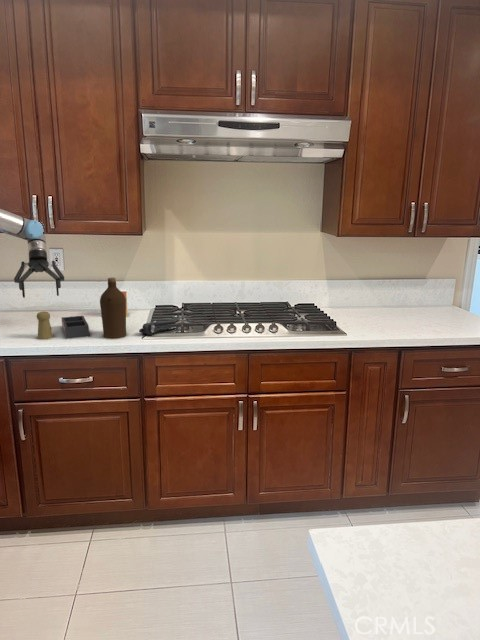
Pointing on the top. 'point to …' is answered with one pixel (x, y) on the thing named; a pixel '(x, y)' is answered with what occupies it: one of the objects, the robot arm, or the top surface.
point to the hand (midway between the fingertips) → (41, 295)
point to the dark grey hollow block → (75, 327)
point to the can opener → (150, 327)
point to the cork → (44, 325)
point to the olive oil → (113, 311)
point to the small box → (125, 297)
